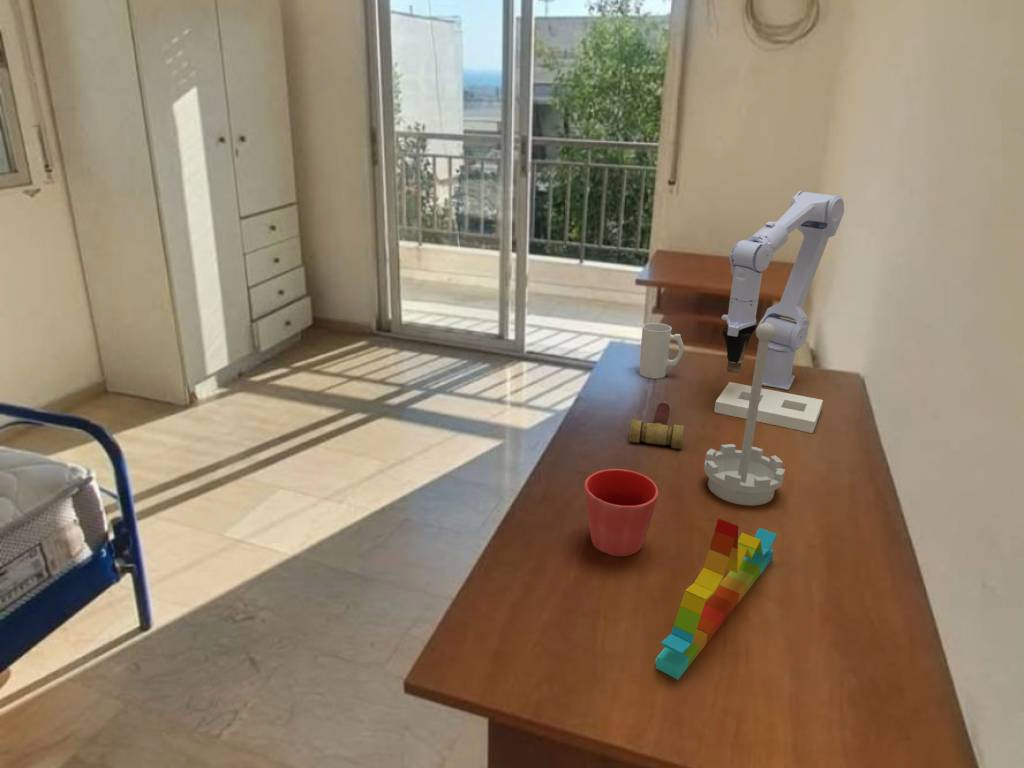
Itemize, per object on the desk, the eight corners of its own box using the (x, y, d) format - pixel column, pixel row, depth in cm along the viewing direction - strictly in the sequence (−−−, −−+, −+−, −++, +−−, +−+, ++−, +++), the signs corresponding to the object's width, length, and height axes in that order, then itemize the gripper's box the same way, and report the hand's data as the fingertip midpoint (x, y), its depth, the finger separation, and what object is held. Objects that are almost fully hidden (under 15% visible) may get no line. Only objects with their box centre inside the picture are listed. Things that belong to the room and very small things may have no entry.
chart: (750, 553, 108) (766, 464, 103) (771, 561, 106) (788, 471, 101) (653, 668, 86) (666, 564, 80) (677, 681, 84) (692, 575, 79)
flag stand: (785, 513, 118) (818, 339, 107) (703, 503, 121) (727, 332, 109) (774, 474, 130) (803, 314, 119) (700, 466, 132) (721, 308, 121)
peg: (727, 366, 161) (731, 332, 158) (743, 369, 159) (748, 335, 156) (723, 371, 158) (727, 337, 155) (739, 375, 156) (744, 340, 153)
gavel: (642, 390, 158) (689, 396, 156) (640, 410, 159) (687, 416, 157) (630, 423, 139) (683, 430, 136) (628, 445, 140) (680, 453, 138)
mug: (635, 376, 173) (640, 329, 169) (641, 367, 179) (645, 321, 175) (677, 383, 170) (683, 334, 166) (682, 373, 176) (687, 326, 172)
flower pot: (597, 568, 104) (601, 510, 100) (571, 526, 113) (574, 472, 110) (664, 558, 106) (671, 500, 103) (633, 518, 116) (638, 464, 112)
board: (728, 392, 166) (729, 381, 165) (820, 410, 157) (822, 400, 156) (714, 412, 155) (715, 401, 154) (812, 433, 146) (815, 422, 145)
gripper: (733, 288, 160) (725, 346, 165) (716, 303, 148) (708, 365, 153) (766, 292, 157) (756, 351, 162) (751, 308, 145) (742, 371, 150)
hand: (735, 358), depth 158 cm, fingers closed on peg, 4 cm apart
